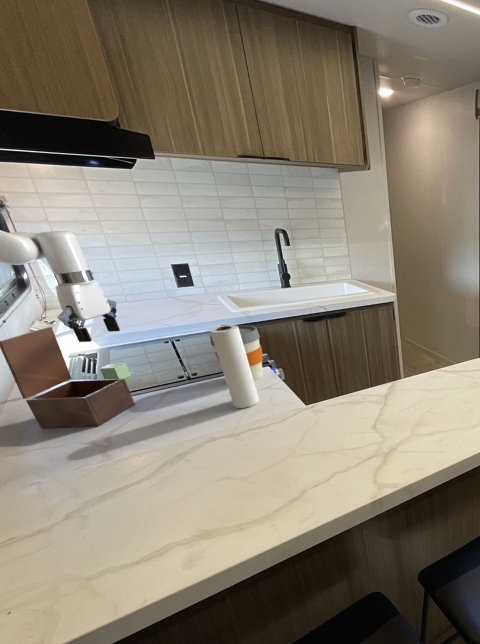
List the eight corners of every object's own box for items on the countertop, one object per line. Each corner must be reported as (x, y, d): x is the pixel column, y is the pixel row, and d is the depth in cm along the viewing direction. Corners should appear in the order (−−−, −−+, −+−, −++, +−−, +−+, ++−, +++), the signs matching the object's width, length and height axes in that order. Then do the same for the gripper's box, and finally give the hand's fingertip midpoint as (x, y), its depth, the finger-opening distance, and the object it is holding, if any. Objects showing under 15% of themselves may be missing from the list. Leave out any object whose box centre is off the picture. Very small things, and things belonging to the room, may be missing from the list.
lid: (51, 326, 100) (48, 326, 100) (0, 342, 89) (-3, 341, 89) (71, 378, 105) (68, 378, 105) (26, 398, 95) (22, 398, 95)
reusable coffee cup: (272, 379, 124) (260, 332, 118) (224, 389, 117) (208, 340, 111) (266, 366, 133) (255, 322, 127) (222, 375, 126) (207, 330, 120)
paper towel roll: (252, 408, 106) (229, 331, 98) (229, 409, 106) (204, 331, 97) (265, 396, 113) (245, 322, 104) (243, 397, 112) (221, 323, 104)
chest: (135, 404, 109) (124, 378, 106) (98, 426, 99) (84, 398, 96) (83, 406, 109) (71, 380, 106) (41, 428, 98) (25, 400, 95)
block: (120, 381, 124) (114, 368, 122) (105, 381, 124) (99, 368, 122) (131, 375, 128) (126, 362, 126) (117, 375, 128) (111, 363, 126)
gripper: (88, 273, 120) (112, 327, 127) (28, 284, 104) (59, 346, 111) (114, 272, 120) (136, 327, 127) (58, 283, 104) (87, 345, 111)
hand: (100, 336), depth 119 cm, fingers open, 9 cm apart
